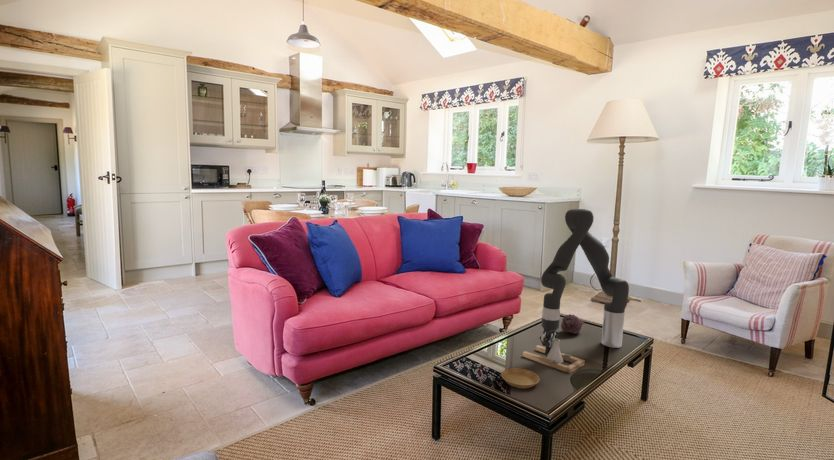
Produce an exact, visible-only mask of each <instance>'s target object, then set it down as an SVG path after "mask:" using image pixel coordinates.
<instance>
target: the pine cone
mask: <svg viewBox="0 0 834 460" xmlns="http://www.w3.org/2000/svg"><path fill="white" fill-rule="evenodd" d="M561 320H562V321H561V323H560V328H561V330H562V331H563V332H565V333H571V334H575V335H576V334H579V333H580V331H581V329H582V327H583V325H584V324H585V321H583V320H581V319H580V318H579V317H578V316H576V315H574V314H568V315H567V314H566V315H565V316H564V318H562V319H561Z"/></svg>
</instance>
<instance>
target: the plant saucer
mask: <svg viewBox="0 0 834 460" xmlns="http://www.w3.org/2000/svg"><path fill="white" fill-rule="evenodd" d="M501 377H502V379H503V380H504V381H505V382H506V384H507V385H508V386H510V387H514V388H517V389H530V388H532V387H534V386H536V385H537V384H538V383H539V382H540V376H539V375H538V374H536V373H535V372H534V371H532V370H529V369H524V368H518V367H513V368H512V367H511V368H507V369H505V370H503V371H502V372H501Z"/></svg>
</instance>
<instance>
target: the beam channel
mask: <svg viewBox="0 0 834 460" xmlns="http://www.w3.org/2000/svg"><path fill="white" fill-rule="evenodd" d="M545 350H546V346H543V345H539V344H538V345H536V346H535V351H537V352H540V353H543V354H545ZM561 356H562V359H563V361H567V362H569V363H571V364H569V365H566V364H564V363H559V362H558V361H555V360H550V359H547V358H546V357H544V356H541V355H538V354H536V353H535V354H534V353H532V352H530V351H527V350H524V351H523V352H522V357H524V358H526V359H529V360H532V361H534V362H537V363H539V364H543V365H545V366H549V367H550V368H553V369H557V370H559V371H562V372H566V373H568V374H572V373H573V372H575V371H577V370H578V369H580V368H582V367H583V366H585V364H586V360H584V359H582V358H579V357H576V356H573V355H571V354H570V353H569V354H568V353H563V352H561Z"/></svg>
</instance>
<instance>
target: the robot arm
mask: <svg viewBox="0 0 834 460" xmlns="http://www.w3.org/2000/svg"><path fill="white" fill-rule="evenodd" d="M564 220H565V224H566V226H567V228H568V229H569V230H570V233H572V234H571V235H570V236H569V237H568V238H567V239H566V240H565V241H564V242H563V243H562V244H561V245H560V246H559V248H558V249H557V251H556V253H555V255H554V258H553V260H552V262H551V263H550V264H549V265H548V267H547V268H546V269H545V270H544V271H543V273H542V275H541V278H540V282H541V286H543V287H545V288H548V289H550V290H551V289H552V292H547V293H545V294H544V296H543V305H542V311H541V313H542V314H541V327H542V328H543V331H542V336H540V337H539V340H540V343H541V344H542V345H541V346H542V347H546V350H545V353H544V354H545V355H548V353H549V351H550V349H551V347H552V339H558V338H559V334H560V332H558V331H557V330H558V329H559V328H560V317H561V309H560V307H561V299H562V296H563V293H564V289H565V288H566V283H567V279H566V278H565V276H564V275H563V274H562V273H561V274H560V273H559V272H566V271H568V269H569V267H570V264H571V262H572V259H573V258H574V255H575V253H576V251H577V249H578V247H579V246H580V247H581V248H580V249H582V251H583V253H584V255H585V257H586V259H587V261H588V262H589V264H590V265H591V268H592V270H593V272H594V273H595V275H596V277H597V278H596V279H597V280H598V283H599V285H600V287H601V289H602V291H603V293H605V295H606V296H607V295H608V296H609V297H612V299H611V302H610V301H609V302H605V303H604V305H603V319H602V328H601V329H602V331H601V344H602V345H603V346H605V347H608V348H614V349H615V348H618V349H619V348H622V345H623V338H624V337H623V335H624V324H625V323H624V322H625V311H626V308H627V305H628V299H629V298H628V297H629V291H630V290H629V289H630V286H629V283H628V281H627V280H624V279H621V278H618V277H615V276H613V274H612V272H611V271H610V269H609V263H610V255H609V253H608V251H607V249H606V247H605V246H604V244H603V243H602V242H601V241H600V240H599V239H598V238H597V237H596V236H594V235H593V234H592V233H590V231H589V230H590V229H591V227H592V226H593V223H594V214H593V212H592V210H590V209H587V208H572V209H568V210H567V211H566V212H565V215H564Z"/></svg>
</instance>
